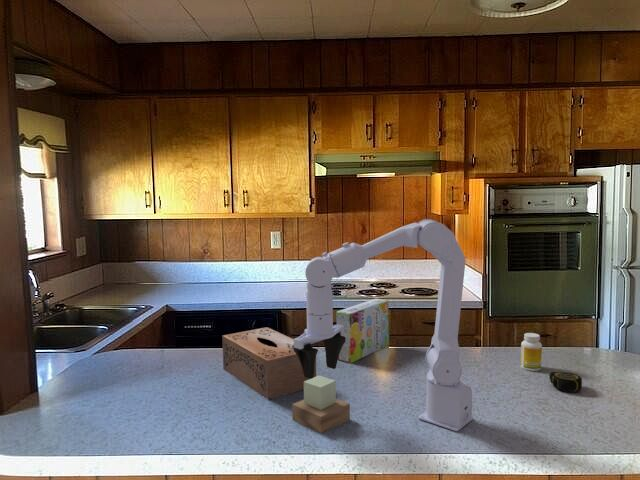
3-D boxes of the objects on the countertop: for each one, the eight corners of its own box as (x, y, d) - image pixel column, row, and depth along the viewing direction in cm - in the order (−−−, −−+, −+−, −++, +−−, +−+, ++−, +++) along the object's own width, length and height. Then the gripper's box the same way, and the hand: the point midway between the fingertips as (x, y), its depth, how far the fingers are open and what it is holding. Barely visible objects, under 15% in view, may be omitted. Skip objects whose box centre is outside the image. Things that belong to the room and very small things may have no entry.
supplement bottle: (516, 365, 145) (517, 332, 144) (533, 363, 146) (534, 331, 145) (528, 372, 140) (529, 338, 139) (545, 370, 141) (546, 336, 140)
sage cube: (335, 402, 113) (335, 380, 113) (321, 409, 110) (320, 387, 109) (318, 396, 117) (318, 375, 116) (304, 403, 113) (303, 381, 112)
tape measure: (577, 385, 131) (578, 371, 131) (584, 396, 124) (585, 381, 124) (548, 383, 133) (549, 369, 132) (554, 393, 126) (554, 379, 126)
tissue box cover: (316, 386, 132) (315, 349, 131) (267, 400, 124) (266, 360, 123) (267, 359, 153) (267, 327, 152) (223, 369, 145) (222, 335, 144)
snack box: (375, 342, 168) (375, 297, 166) (389, 345, 164) (390, 300, 163) (335, 360, 152) (335, 310, 150) (351, 364, 148) (351, 313, 146)
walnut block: (349, 420, 113) (349, 403, 113) (321, 435, 107) (320, 416, 106) (321, 408, 119) (321, 392, 119) (292, 421, 113) (292, 404, 113)
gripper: (327, 303, 120) (327, 359, 121) (283, 316, 109) (284, 377, 110) (351, 308, 115) (351, 366, 116) (307, 321, 104) (308, 385, 106)
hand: (320, 372), depth 113 cm, fingers open, 7 cm apart
